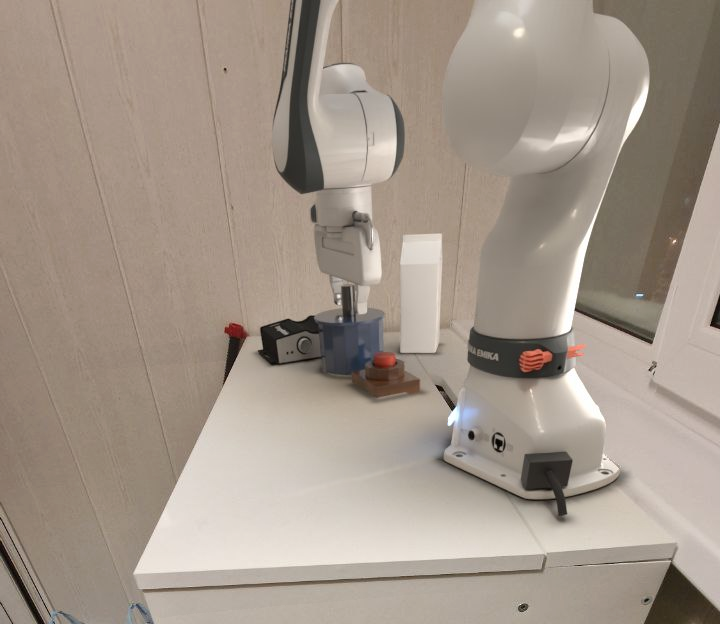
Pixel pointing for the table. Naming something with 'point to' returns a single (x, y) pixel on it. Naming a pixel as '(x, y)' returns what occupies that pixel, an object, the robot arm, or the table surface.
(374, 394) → the block
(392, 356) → the button
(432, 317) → the milk carton
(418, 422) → the table surface
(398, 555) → the table surface
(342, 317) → the lid
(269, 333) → the electronic device
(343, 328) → the pot
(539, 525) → the table surface
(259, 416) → the table surface
